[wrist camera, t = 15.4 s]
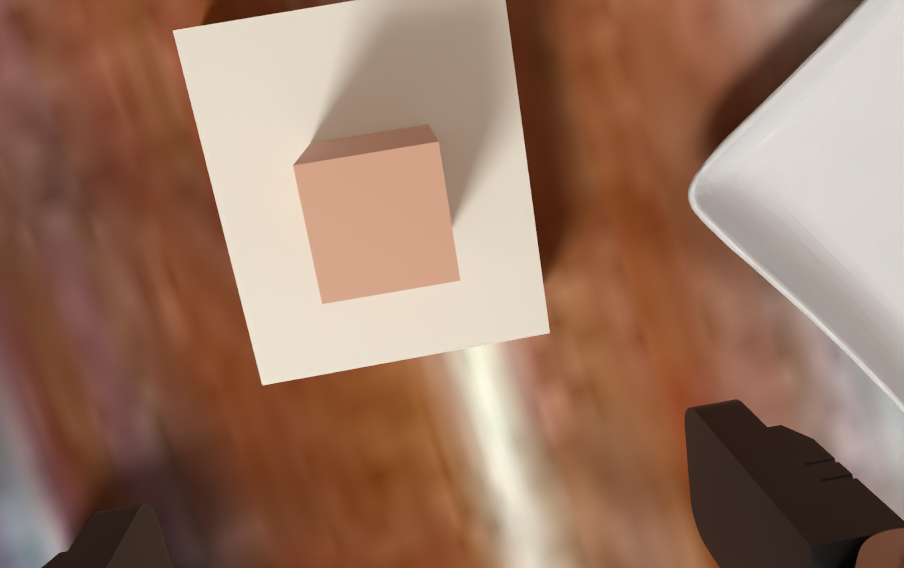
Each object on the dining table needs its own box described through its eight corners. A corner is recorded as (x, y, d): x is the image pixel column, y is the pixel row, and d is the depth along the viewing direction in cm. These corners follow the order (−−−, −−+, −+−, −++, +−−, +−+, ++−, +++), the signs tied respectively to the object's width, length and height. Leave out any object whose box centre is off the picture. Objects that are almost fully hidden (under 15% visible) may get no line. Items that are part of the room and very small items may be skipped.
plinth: (488, -16, 33) (502, -25, 29) (532, 303, 37) (549, 332, 33) (197, 33, 32) (172, 30, 28) (275, 350, 36) (262, 385, 32)
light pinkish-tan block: (427, 124, 30) (438, 141, 24) (446, 238, 31) (460, 280, 26) (310, 143, 30) (292, 165, 24) (333, 257, 31) (322, 303, 25)
